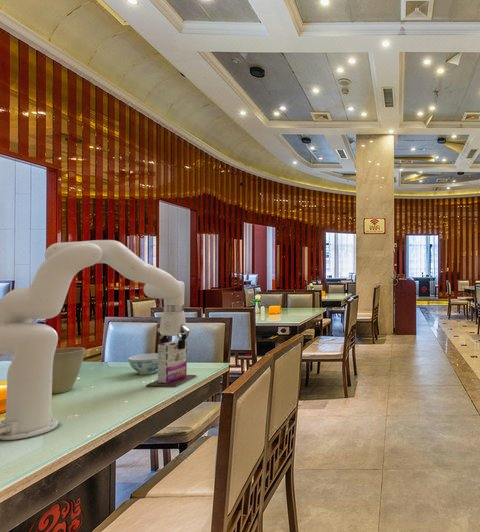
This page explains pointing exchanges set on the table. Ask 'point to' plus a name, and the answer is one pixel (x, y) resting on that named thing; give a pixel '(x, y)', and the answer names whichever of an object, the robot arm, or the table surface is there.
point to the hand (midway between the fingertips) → (172, 348)
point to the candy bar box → (171, 362)
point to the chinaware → (144, 363)
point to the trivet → (171, 384)
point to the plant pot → (66, 368)
